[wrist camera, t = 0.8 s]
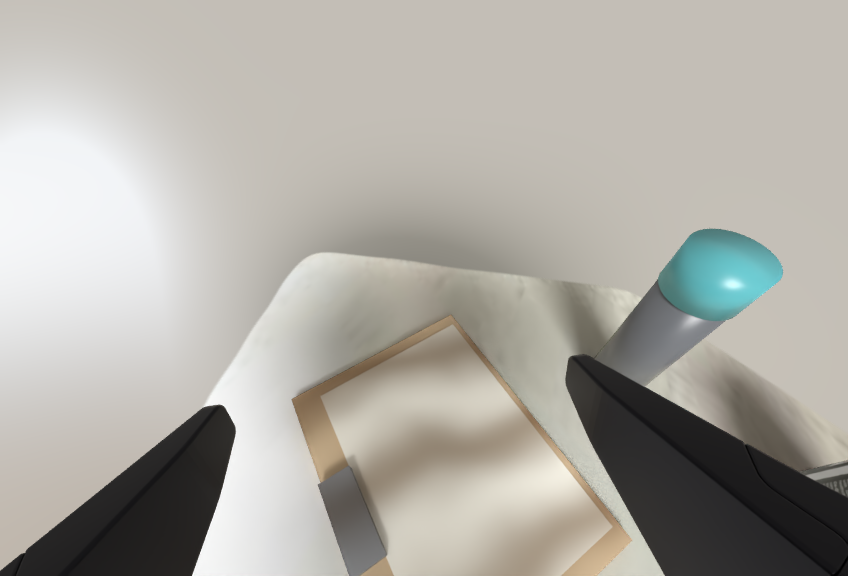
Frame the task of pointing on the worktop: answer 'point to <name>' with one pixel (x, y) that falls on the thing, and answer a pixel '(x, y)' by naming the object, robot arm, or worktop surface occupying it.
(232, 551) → the worktop surface
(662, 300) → the ball
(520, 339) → the worktop surface
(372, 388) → the clipboard
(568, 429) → the worktop surface
